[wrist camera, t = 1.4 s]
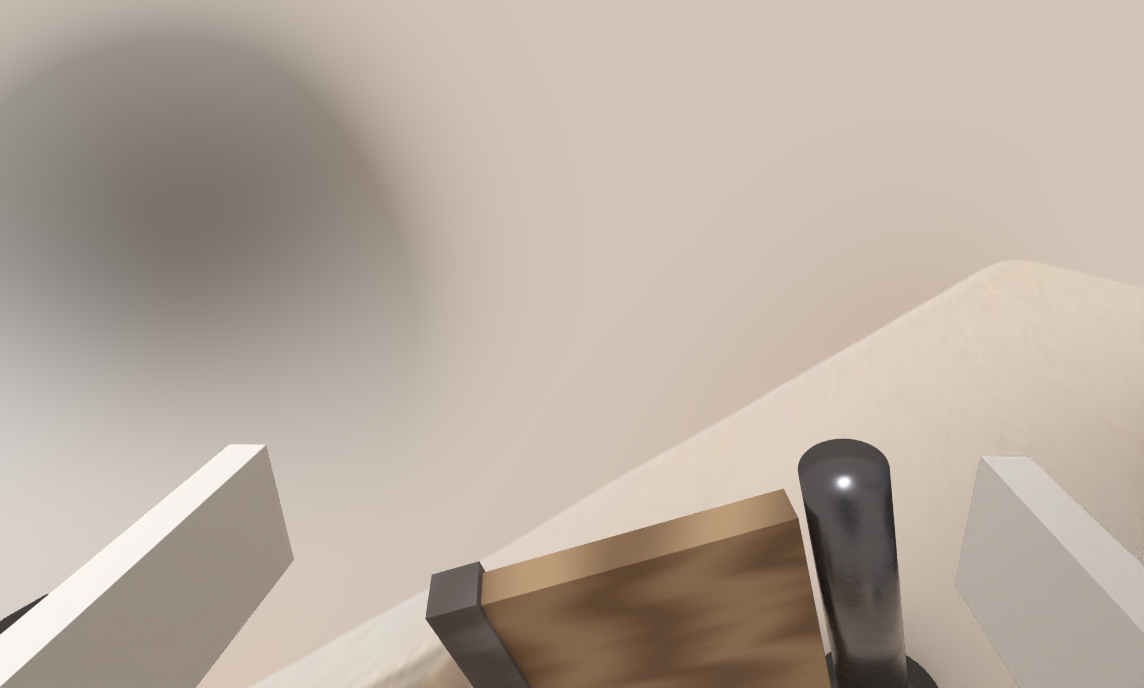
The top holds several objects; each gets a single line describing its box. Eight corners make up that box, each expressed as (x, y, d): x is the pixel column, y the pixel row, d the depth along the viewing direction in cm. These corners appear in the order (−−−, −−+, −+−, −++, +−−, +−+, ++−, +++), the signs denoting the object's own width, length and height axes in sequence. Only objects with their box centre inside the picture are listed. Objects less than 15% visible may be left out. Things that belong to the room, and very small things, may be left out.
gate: (822, 687, 31) (779, 476, 24) (840, 729, 30) (799, 515, 23) (549, 754, 33) (431, 574, 26) (550, 798, 31) (425, 618, 24)
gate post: (823, 634, 35) (779, 405, 27) (953, 670, 31) (948, 420, 23) (795, 746, 31) (734, 516, 23) (941, 801, 27) (929, 554, 19)
